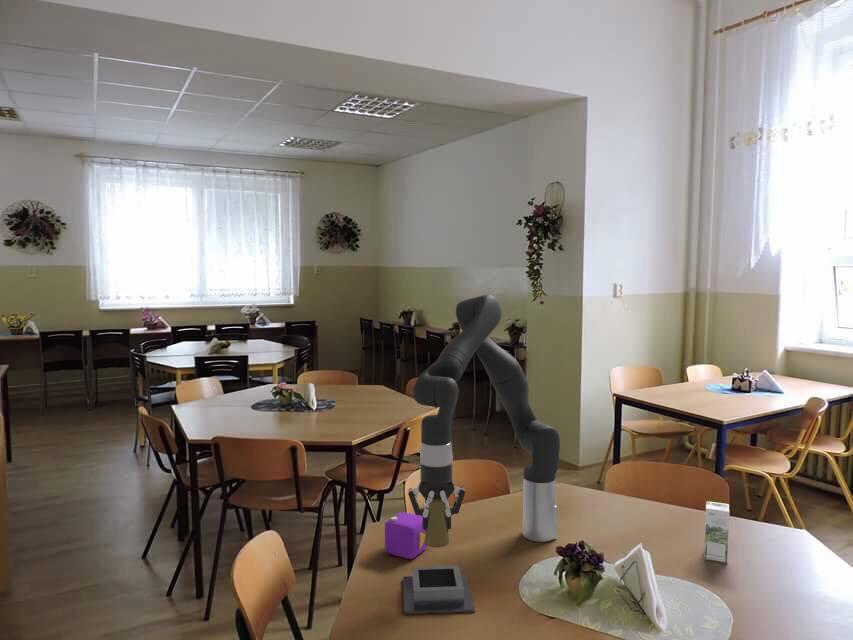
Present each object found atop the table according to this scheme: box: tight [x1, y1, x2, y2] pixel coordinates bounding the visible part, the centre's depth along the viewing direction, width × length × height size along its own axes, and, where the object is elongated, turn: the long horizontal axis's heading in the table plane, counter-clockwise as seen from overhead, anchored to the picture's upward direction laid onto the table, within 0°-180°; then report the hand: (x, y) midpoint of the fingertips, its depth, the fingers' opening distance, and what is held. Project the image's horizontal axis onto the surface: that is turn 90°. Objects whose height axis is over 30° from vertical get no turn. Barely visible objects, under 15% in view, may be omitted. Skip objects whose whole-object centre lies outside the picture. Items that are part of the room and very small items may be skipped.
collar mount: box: [402, 565, 476, 616], centre depth 150 cm, size 16×16×4 cm
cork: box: [424, 499, 450, 548], centre depth 149 cm, size 6×6×11 cm
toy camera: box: [384, 511, 428, 560], centre depth 174 cm, size 11×14×10 cm
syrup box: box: [703, 500, 730, 564], centre depth 168 cm, size 6×6×14 cm
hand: (436, 530), depth 149 cm, fingers closed on cork, 4 cm apart
